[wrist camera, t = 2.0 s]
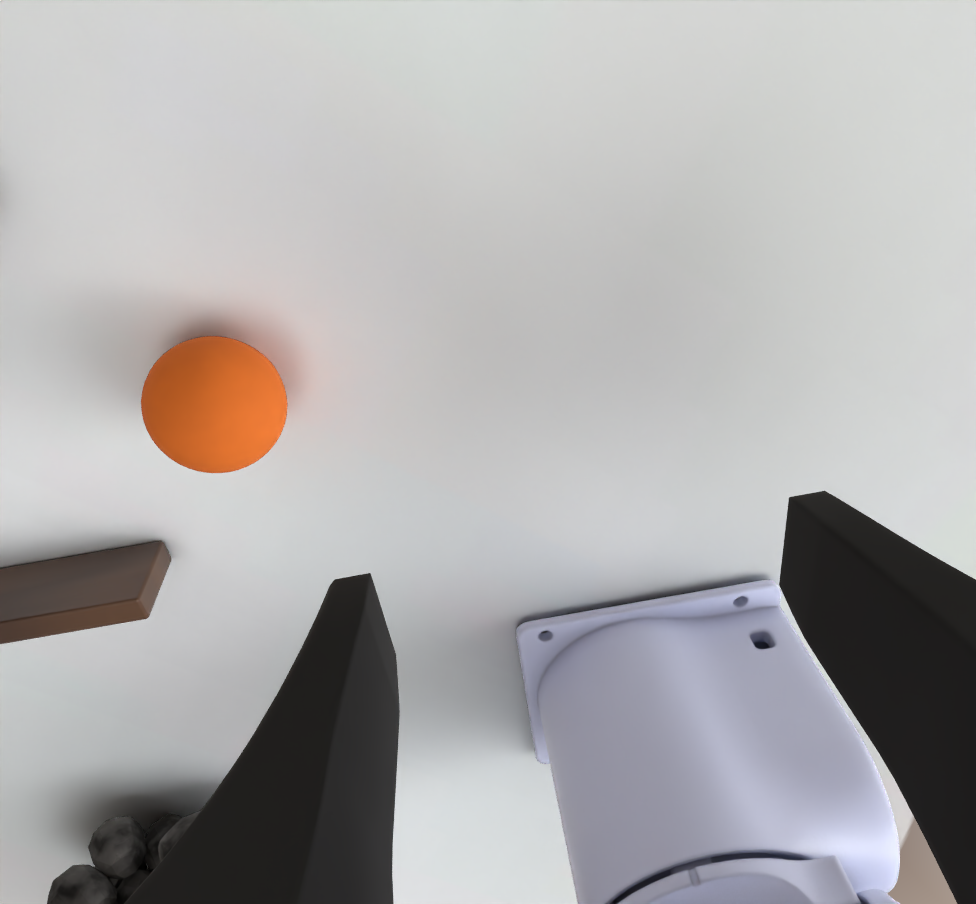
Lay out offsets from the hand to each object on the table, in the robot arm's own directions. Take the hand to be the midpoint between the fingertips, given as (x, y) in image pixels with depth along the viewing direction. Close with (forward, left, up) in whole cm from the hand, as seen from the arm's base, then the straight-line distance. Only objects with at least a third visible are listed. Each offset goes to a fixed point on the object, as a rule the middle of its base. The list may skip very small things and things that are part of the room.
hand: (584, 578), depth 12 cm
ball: (+8, -1, -7) cm, 11 cm away
